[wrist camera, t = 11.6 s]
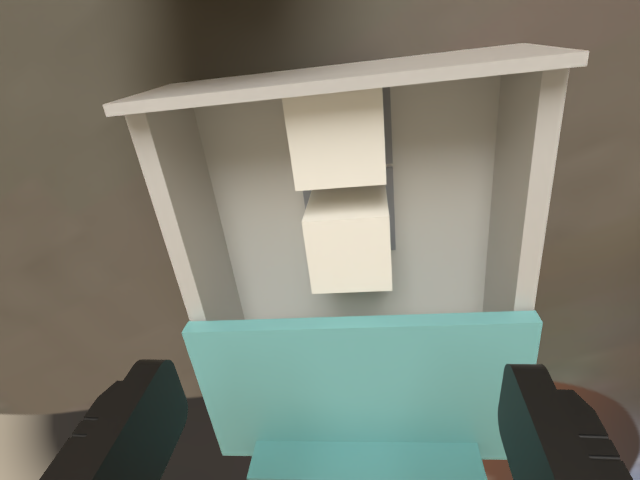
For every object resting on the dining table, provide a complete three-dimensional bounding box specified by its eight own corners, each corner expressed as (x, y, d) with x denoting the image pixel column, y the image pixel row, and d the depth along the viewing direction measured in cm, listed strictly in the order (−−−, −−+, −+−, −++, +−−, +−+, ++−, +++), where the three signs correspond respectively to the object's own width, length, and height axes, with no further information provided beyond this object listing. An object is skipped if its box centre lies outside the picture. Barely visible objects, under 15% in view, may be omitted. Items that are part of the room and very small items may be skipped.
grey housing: (178, 80, 20) (102, 104, 14) (516, 41, 18) (589, 50, 12) (251, 368, 28) (221, 457, 22) (486, 365, 26) (521, 462, 20)
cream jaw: (312, 187, 20) (301, 222, 17) (384, 182, 20) (389, 216, 16) (320, 250, 22) (312, 293, 18) (388, 246, 21) (392, 290, 18)
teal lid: (188, 321, 19) (162, 365, 17) (535, 310, 17) (563, 358, 15) (227, 442, 23) (210, 492, 21) (515, 444, 21) (535, 501, 18)
